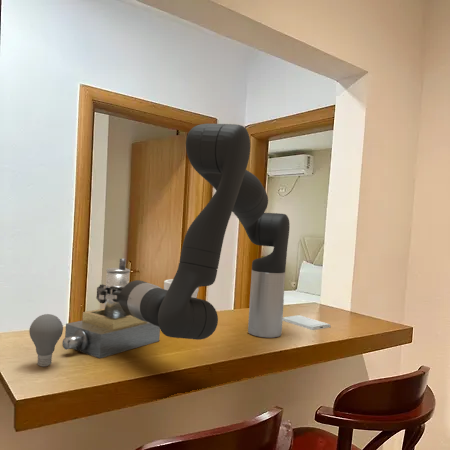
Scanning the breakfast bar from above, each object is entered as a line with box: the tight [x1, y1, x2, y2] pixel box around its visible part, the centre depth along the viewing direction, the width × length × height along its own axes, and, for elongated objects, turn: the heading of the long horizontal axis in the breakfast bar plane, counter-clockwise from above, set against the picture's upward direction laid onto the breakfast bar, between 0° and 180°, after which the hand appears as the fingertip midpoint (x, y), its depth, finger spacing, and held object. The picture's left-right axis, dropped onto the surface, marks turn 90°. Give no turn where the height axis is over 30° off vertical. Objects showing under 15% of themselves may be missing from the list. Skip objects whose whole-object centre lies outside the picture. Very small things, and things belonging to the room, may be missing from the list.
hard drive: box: [282, 314, 331, 331], centre depth 129 cm, size 2×8×12 cm
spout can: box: [103, 258, 131, 318], centre depth 97 cm, size 5×5×14 cm
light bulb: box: [29, 313, 64, 368], centre depth 81 cm, size 6×6×10 cm
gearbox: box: [61, 307, 161, 359], centre depth 96 cm, size 22×12×7 cm, turn 146°
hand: (112, 288), depth 99 cm, fingers closed on spout can, 5 cm apart
